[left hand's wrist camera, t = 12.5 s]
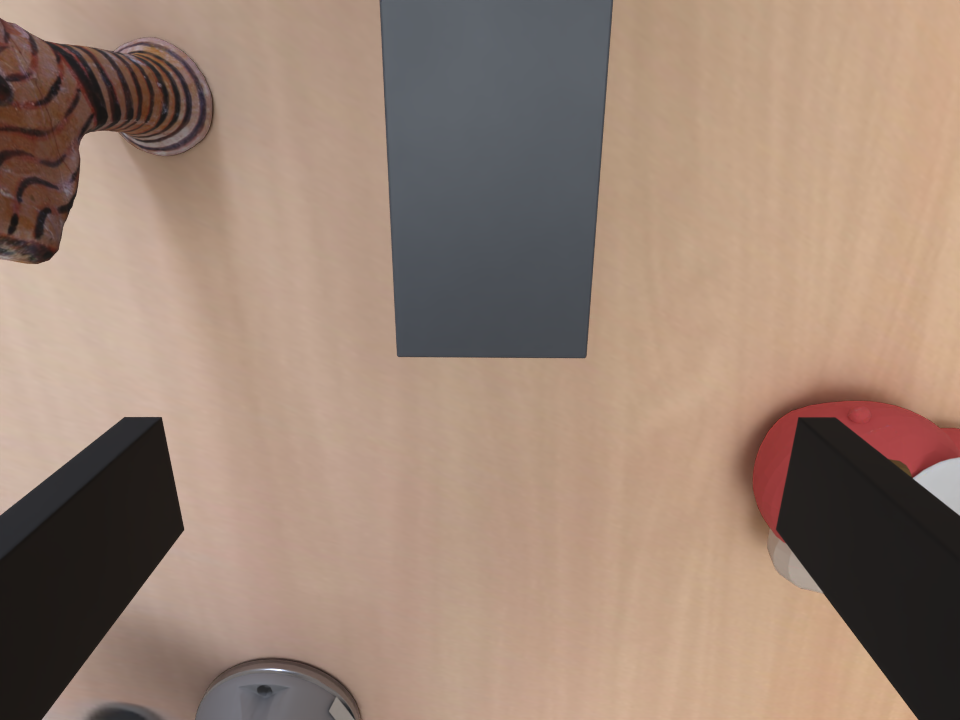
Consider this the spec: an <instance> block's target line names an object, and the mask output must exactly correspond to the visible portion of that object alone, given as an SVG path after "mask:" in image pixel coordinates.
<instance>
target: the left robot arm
mask: <svg viewBox="0 0 960 720" xmlns="http://www.w3.org/2000/svg"><path fill="white" fill-rule="evenodd" d="M183 531H184V526H183V521H182V516H181V511H180V506H179V501H178V496H177V491H176V486H175V481H174V476H173V471H172V466H171V461H170V456H169V451H168V446H167V441H166V436H165V431H164V426H163V421H162V417H124V418H123V419H122V420H120V421H119V422H118V423H117V424H115V425H114V426H113V427H112V428H110V429H109V430H108V431H106V432H105V433H104V434H103V435H101V436H100V437H99V438H98V439H96V440H95V441H94V442H93V443H91V444H90V445H89V446H88V447H86V448H85V449H84V450H82V451H81V452H80V453H79V454H77V455H76V456H75V457H74V458H72V459H71V460H70V461H69V462H67V463H66V464H65V465H64V466H62V467H61V468H60V469H58V470H57V471H56V472H55V473H53V474H52V475H51V476H50V477H48V478H47V479H46V480H45V481H43V482H42V483H41V484H40V485H38V486H37V487H36V488H35V489H33V490H32V491H31V492H29V493H28V494H27V495H26V496H24V497H23V498H22V499H21V500H19V501H18V502H17V503H16V504H14V505H13V506H12V507H11V508H9V509H8V510H7V511H5V512H4V513H3V514H2V515H0V720H42V719H43V717H44V716H45V715H46V713H47V712H48V711H49V709H50V708H51V707H52V705H53V704H54V703H55V701H56V700H57V699H58V697H59V696H60V695H61V693H62V692H63V691H64V689H65V688H66V687H67V685H68V684H69V683H70V681H71V680H72V679H73V677H74V676H75V675H76V673H77V672H78V671H79V669H80V668H81V667H82V665H83V664H84V663H85V661H86V660H87V659H88V657H89V656H90V655H91V653H92V652H93V651H94V649H95V648H96V647H97V645H98V644H99V643H100V641H101V640H102V639H103V637H104V636H105V635H106V633H107V632H108V631H109V629H110V628H111V627H112V625H113V624H114V623H115V621H116V620H117V619H118V617H119V616H120V615H121V613H122V612H123V611H124V609H125V608H126V607H127V605H128V604H129V603H130V601H131V600H132V599H133V597H134V596H135V595H136V593H137V592H138V591H139V589H140V588H141V587H142V585H143V584H144V583H145V581H146V580H147V579H148V577H149V576H150V575H151V573H152V572H153V571H154V569H155V568H156V567H157V565H158V564H159V563H160V561H161V560H162V559H163V557H164V556H165V555H166V553H167V552H168V551H169V549H170V548H171V547H172V545H173V544H174V543H175V541H176V540H177V539H178V537H179V536H180V535H181V533H182V532H183ZM776 531H777V532H778V533H779V535H780V536H781V537H782V539H783V540H784V541H785V543H786V544H787V545H788V547H789V548H790V549H791V551H792V552H793V553H794V555H795V556H796V557H797V559H798V560H799V561H800V563H801V564H802V565H803V567H804V568H805V569H806V571H807V572H808V573H809V575H810V576H811V577H812V579H813V580H814V581H815V583H816V584H817V585H818V587H819V588H820V589H821V591H822V592H823V593H824V595H825V596H826V597H827V599H828V600H829V601H830V603H831V604H832V605H833V607H834V608H835V609H836V611H837V612H838V613H839V615H840V616H841V617H842V619H843V620H844V621H845V623H846V624H847V625H848V627H849V628H850V629H851V631H852V632H853V633H854V635H855V636H856V637H857V639H858V640H859V641H860V643H861V644H862V645H863V647H864V648H865V649H866V651H867V652H868V653H869V655H870V656H871V657H872V659H873V660H874V661H875V663H876V664H877V665H878V667H879V668H880V669H881V671H882V672H883V673H884V675H885V676H886V677H887V679H888V680H889V681H890V683H891V684H892V685H893V687H894V688H895V689H896V691H897V692H898V693H899V695H900V696H901V697H902V699H903V700H904V701H905V703H906V704H907V705H908V707H909V708H910V709H911V711H912V712H913V713H914V715H915V716H916V717H917V719H918V720H960V515H958V514H957V513H956V512H955V511H953V510H952V509H951V508H949V507H948V506H947V505H946V504H944V503H943V502H942V501H941V500H939V499H938V498H937V497H936V496H934V495H933V494H932V493H931V492H929V491H928V490H927V489H925V488H924V487H923V486H922V485H920V484H919V483H918V482H917V481H915V480H914V479H913V478H912V477H910V476H909V475H908V474H907V473H905V472H904V471H903V470H901V469H900V468H899V467H898V466H896V465H895V464H894V463H893V462H891V461H890V460H889V459H888V458H886V457H885V456H884V455H883V454H881V453H880V452H879V451H878V450H876V449H875V448H874V447H872V446H871V445H870V444H869V443H867V442H866V441H865V440H864V439H862V438H861V437H860V436H859V435H857V434H856V433H855V432H854V431H852V430H851V429H850V428H848V427H847V426H846V425H845V424H843V423H842V422H841V421H840V420H838V419H837V418H836V417H798V421H797V426H796V431H795V436H794V441H793V446H792V451H791V456H790V461H789V466H788V471H787V476H786V481H785V486H784V491H783V496H782V501H781V506H780V511H779V516H778V521H777V526H776ZM195 720H361V717H360V713H359V709H358V707H357V705H356V702H355V701H354V699H353V697H352V696H351V695H350V693H349V692H348V691H347V690H346V689H345V688H344V687H343V686H342V685H341V684H340V683H339V682H338V681H336V680H335V679H334V678H332V677H331V676H329V675H328V674H326V673H324V672H322V671H320V670H318V669H316V668H314V667H311V666H308V665H305V664H302V663H298V662H293V661H288V660H278V659H264V660H255V661H250V662H246V663H242V664H239V665H237V666H234V667H232V668H230V669H228V670H227V671H225V672H223V673H222V674H221V675H219V676H218V677H217V678H216V679H215V680H214V681H213V682H212V683H211V685H210V686H209V688H208V689H207V691H206V693H205V695H204V697H203V699H202V701H201V703H200V705H199V707H198V710H197V714H196V718H195Z"/></svg>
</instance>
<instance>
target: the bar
mask: <svg viewBox="0 0 960 720" xmlns="http://www.w3.org/2000/svg"><path fill="white" fill-rule="evenodd" d="M612 7H613V0H380V17H381V37H382V57H383V78H384V98H385V119H386V139H387V160H388V180H389V201H390V221H391V242H392V262H393V283H394V303H395V323H396V344H397V356H398V357H488V358H586V355H587V341H588V328H589V315H590V301H591V288H592V275H593V261H594V248H595V234H596V221H597V208H598V194H599V181H600V168H601V154H602V141H603V128H604V114H605V101H606V87H607V74H608V61H609V47H610V34H611V21H612Z"/></svg>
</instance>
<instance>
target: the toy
mask: <svg viewBox="0 0 960 720" xmlns="http://www.w3.org/2000/svg"><path fill="white" fill-rule="evenodd" d="M798 417H836V418H837V419H838V420H840V421H841V422H842V423H843V424H845V425H846V426H847V427H848V428H850V429H851V430H852V431H854V432H855V433H856V434H857V435H859V436H860V437H861V438H862V439H864V440H865V441H866V442H867V443H869V444H870V445H871V446H872V447H874V448H875V449H876V450H878V451H879V452H880V453H881V454H883V455H884V456H885V457H886V458H888V459H889V460H890V461H891V462H893V463H894V464H895V465H896V466H898V467H899V468H900V469H901V470H903V471H904V472H905V473H907V474H908V475H909V476H910V477H912V478H913V479H914V480H915V481H917V482H918V483H919V484H920V485H922V486H923V487H924V488H925V489H927V490H928V491H929V492H931V493H932V494H933V495H934V496H936V497H937V498H938V499H939V500H941V501H942V502H943V503H944V504H946V505H947V506H948V507H949V508H951V509H952V510H953V511H955V512H956V513H957V514H958V515H960V429H957V428H939V427H938V426H936V425H935V424H934V423H933V422H931V421H930V420H928V419H926V418H924V417H923V416H921V415H919V414H916V413H914V412H912V411H910V410H907V409H904V408H901V407H898V406H895V405H890V404H886V403H879V402H872V401H840V402H829V403H821V404H815V405H809V406H806V407H803V408H800V409H796V410H793V411H791V412H789V413H788V414H786V415H785V416H783V417H782V418H780V419H779V420H778V421H777V422H776V423H775V424H774V425H773V426H772V428H771V429H770V430H769V431H768V433H767V434H766V436H765V438H764V440H763V442H762V444H761V445H760V448H759V451H758V454H757V457H756V460H755V465H754V471H753V491H754V495H755V499H756V502H757V506H758V508H759V510H760V512H761V515H762V517H763V518H764V520H765V521H766V523H767V524H768V526H769V527H770V529H769V535H768V541H767V549H768V552H769V555H770V557H771V560H772V562H773V565H774V567H775V569H776V571H777V572H778V573H779V574H780V575H782V576H783V577H784V578H786V579H787V580H789V581H790V582H791V583H793V584H794V585H796V586H798V587H799V588H801V589H806V590H810V591H815V592H819V593H823V592H822V591H821V589H820V588H819V587H818V585H817V584H816V583H815V581H814V580H813V579H812V577H811V576H810V575H809V573H808V572H807V571H806V569H805V568H804V567H803V565H802V564H801V563H800V561H799V560H798V559H797V557H796V556H795V555H794V553H793V552H792V551H791V549H790V548H789V547H788V545H787V544H786V543H785V541H784V540H783V539H782V537H781V536H780V535H779V533H778V532H777V531H776V526H777V521H778V516H779V511H780V506H781V501H782V496H783V491H784V486H785V481H786V476H787V471H788V466H789V461H790V456H791V451H792V446H793V441H794V436H795V431H796V426H797V421H798Z"/></svg>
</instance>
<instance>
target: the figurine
mask: <svg viewBox="0 0 960 720" xmlns="http://www.w3.org/2000/svg"><path fill="white" fill-rule="evenodd" d="M211 119H212V97H211V92H210V89H209V87H208V85H207V82H206V80H205V78H204V76H203V74H202V73H201V72H200V71H199V69H198V68H197V66H196V64H195V63H194V62H193V61H192V60H191V59H190V58H189V57H188V56H187V55H186V54H185V53H184V52H183V51H182V50H180V49H178V48H177V47H176V46H174V45H172V44H170V43H168V42H166V41H163V40H161V39H158V38H155V37H148V38H139V39H136V40H134V41H131V42H128V43H125V44H123V45H121V46H119V47H118V48H117V49H116V50H115V51H108V50H103V49H99V48H92V47H86V46H79V45H69V44H57V43H53V42H48V41H44V40H42V39H40V38H38V37H36V36H34V35H32V34H31V33H29V32H27V31H26V30H24V29H23V28H21V27H19V26H18V25H16V24H14V23H9V22H6V21H4V20H2V19H1V18H0V259H3V260H9V261H15V262H20V263H26V264H39V263H42V262H45V261H48V260H50V259H51V258H52V257H53V255H54V254H55V253H56V252H57V251H58V250H59V244H60V241H61V236H62V230H63V226H64V223H65V221H66V220H67V217H68V214H69V211H70V209H71V208H72V206H73V202H74V199H75V197H76V194H77V188H78V181H79V172H80V154H79V145H80V141H81V139H82V137H83V136H84V135H85V134H87V133H89V132H95V131H115V132H119V133H120V134H121V135H122V136H123V137H124V138H125V139H126V140H127V141H128V142H129V143H130V144H132V145H133V146H135V147H136V148H138V149H140V150H143V151H145V152H148V153H151V154H155V155H160V156H170V155H176V154H179V153H182V152H185V151H187V150H188V149H190V148H192V147H194V146H195V145H196V144H197V143H199V142H200V140H202V139H203V138H204V137H205V135H206V134H207V132H208V130H209V127H210V124H211Z"/></svg>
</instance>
